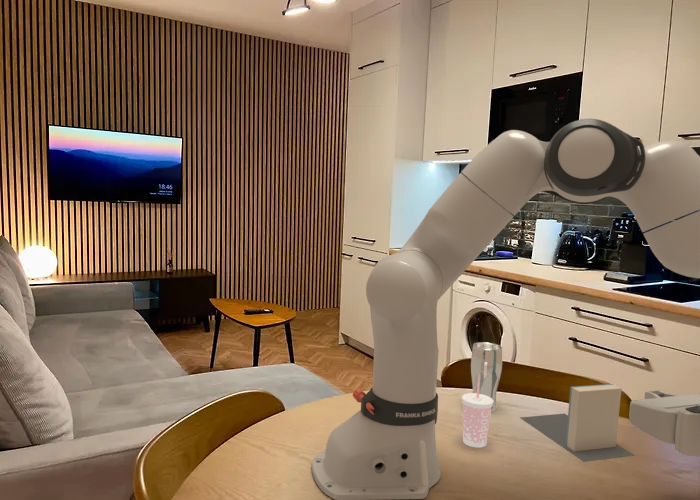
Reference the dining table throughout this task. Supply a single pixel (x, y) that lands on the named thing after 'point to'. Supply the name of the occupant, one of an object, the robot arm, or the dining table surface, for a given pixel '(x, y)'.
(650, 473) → the dining table surface
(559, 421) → the mat
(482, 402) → the beverage cup
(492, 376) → the beer glass
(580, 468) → the dining table surface
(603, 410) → the tile
